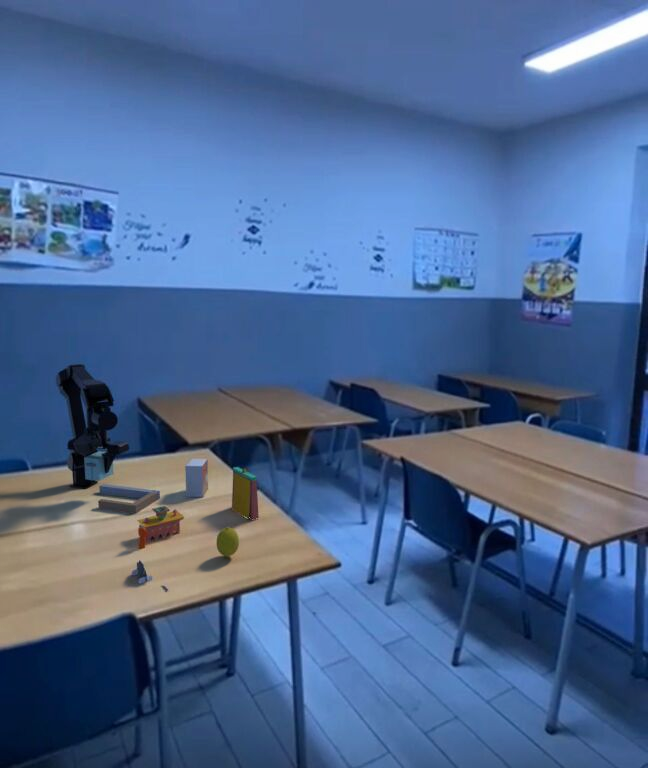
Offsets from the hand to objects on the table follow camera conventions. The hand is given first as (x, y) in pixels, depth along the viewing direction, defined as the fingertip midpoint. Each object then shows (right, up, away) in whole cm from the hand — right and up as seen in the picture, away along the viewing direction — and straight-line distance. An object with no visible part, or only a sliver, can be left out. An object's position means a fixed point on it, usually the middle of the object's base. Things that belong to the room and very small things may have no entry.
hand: (99, 471), depth 178 cm
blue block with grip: (0, -1, 0) cm, 2 cm away
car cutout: (+31, -19, -49) cm, 61 cm away
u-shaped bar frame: (+6, -9, 0) cm, 11 cm away
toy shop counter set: (+34, -13, -18) cm, 40 cm away
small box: (+29, -8, +8) cm, 31 cm away
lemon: (+46, -16, -36) cm, 61 cm away
